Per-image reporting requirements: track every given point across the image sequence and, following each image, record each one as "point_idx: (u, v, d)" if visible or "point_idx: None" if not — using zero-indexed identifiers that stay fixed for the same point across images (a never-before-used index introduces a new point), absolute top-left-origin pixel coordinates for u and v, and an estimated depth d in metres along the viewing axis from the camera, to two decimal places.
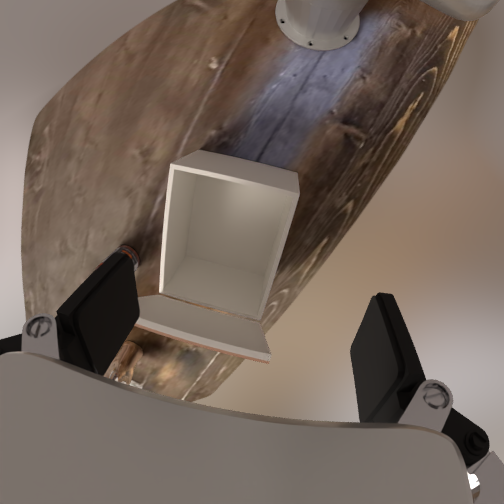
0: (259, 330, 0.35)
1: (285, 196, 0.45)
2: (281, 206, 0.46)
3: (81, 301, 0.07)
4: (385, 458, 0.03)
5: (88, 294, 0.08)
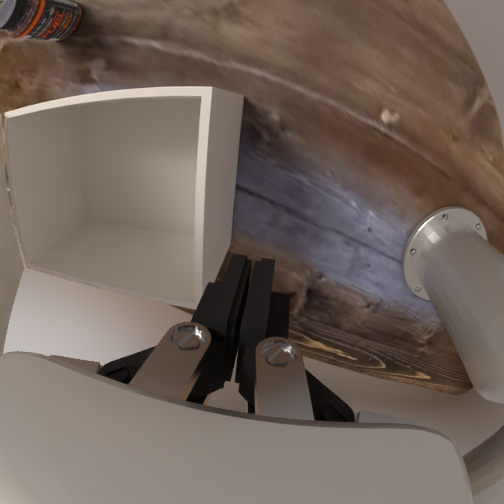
0: (8, 312, 0.17)
1: (194, 233, 0.32)
2: (179, 229, 0.32)
3: (231, 305, 0.08)
4: (385, 458, 0.03)
5: (234, 298, 0.09)
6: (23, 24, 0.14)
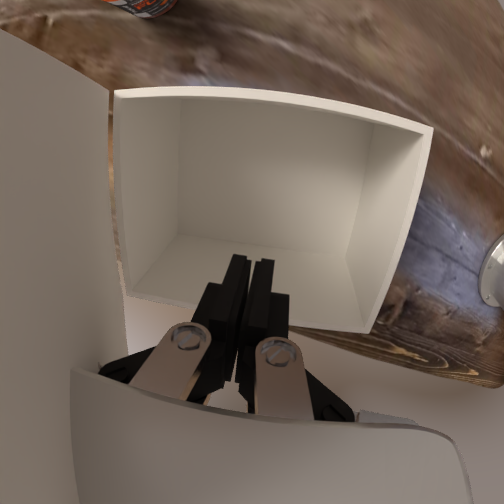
0: None
1: (314, 251, 0.31)
2: (298, 247, 0.31)
3: (231, 305, 0.08)
4: (385, 458, 0.03)
5: (234, 298, 0.09)
6: None
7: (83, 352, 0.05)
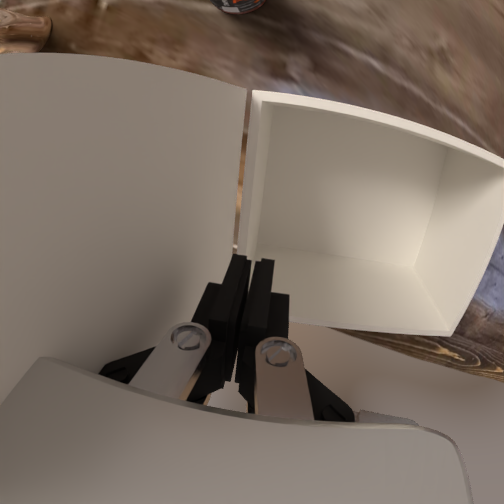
0: None
1: (388, 261, 0.31)
2: (374, 257, 0.31)
3: (231, 305, 0.08)
4: (385, 458, 0.03)
5: (234, 298, 0.09)
6: None
7: None
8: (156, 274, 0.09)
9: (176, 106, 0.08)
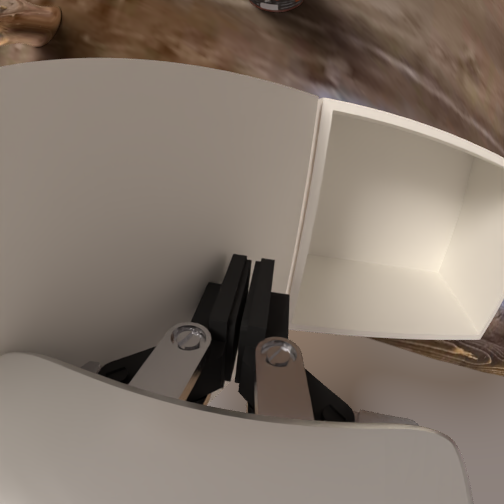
0: (210, 398, 0.15)
1: (415, 267, 0.30)
2: (403, 264, 0.30)
3: (232, 305, 0.08)
4: (385, 458, 0.03)
5: (234, 298, 0.09)
6: None
7: None
8: (172, 278, 0.09)
9: (207, 106, 0.07)
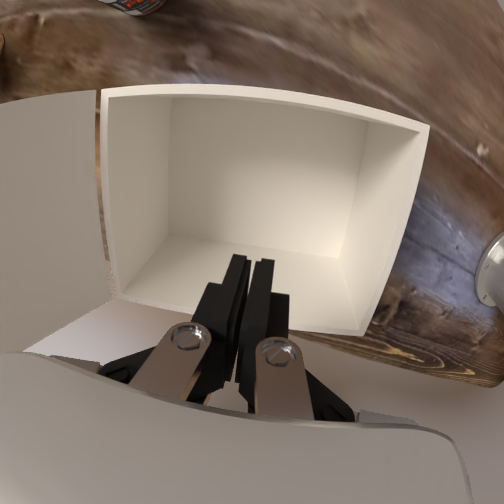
0: (32, 340, 0.15)
1: (307, 251, 0.31)
2: (291, 247, 0.31)
3: (231, 305, 0.08)
4: (385, 458, 0.03)
5: (234, 298, 0.09)
6: None
7: None
8: None
9: None
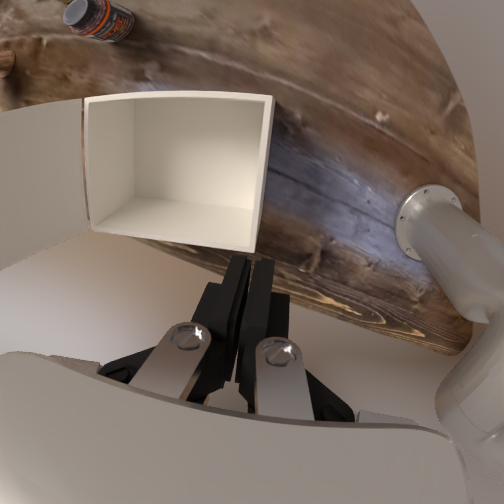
0: (33, 251, 0.25)
1: (232, 205, 0.40)
2: (220, 202, 0.40)
3: (231, 305, 0.08)
4: (385, 458, 0.03)
5: (234, 298, 0.09)
6: (92, 25, 0.22)
7: None
8: (2, 175, 0.19)
9: (10, 121, 0.18)
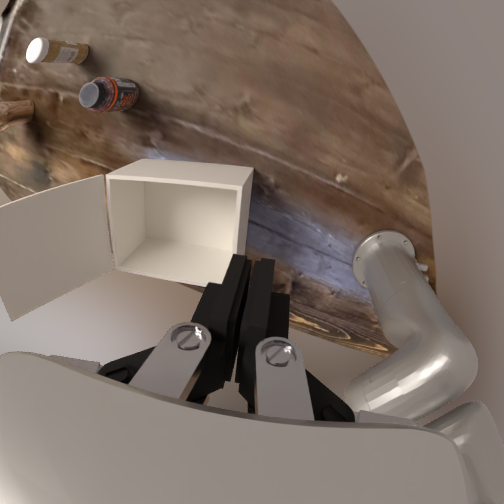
0: (73, 286, 0.38)
1: (222, 247, 0.53)
2: (212, 245, 0.53)
3: (231, 305, 0.08)
4: (385, 458, 0.03)
5: (234, 298, 0.09)
6: (104, 106, 0.35)
7: (15, 248, 0.28)
8: (49, 236, 0.32)
9: (51, 198, 0.31)
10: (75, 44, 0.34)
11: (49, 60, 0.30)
